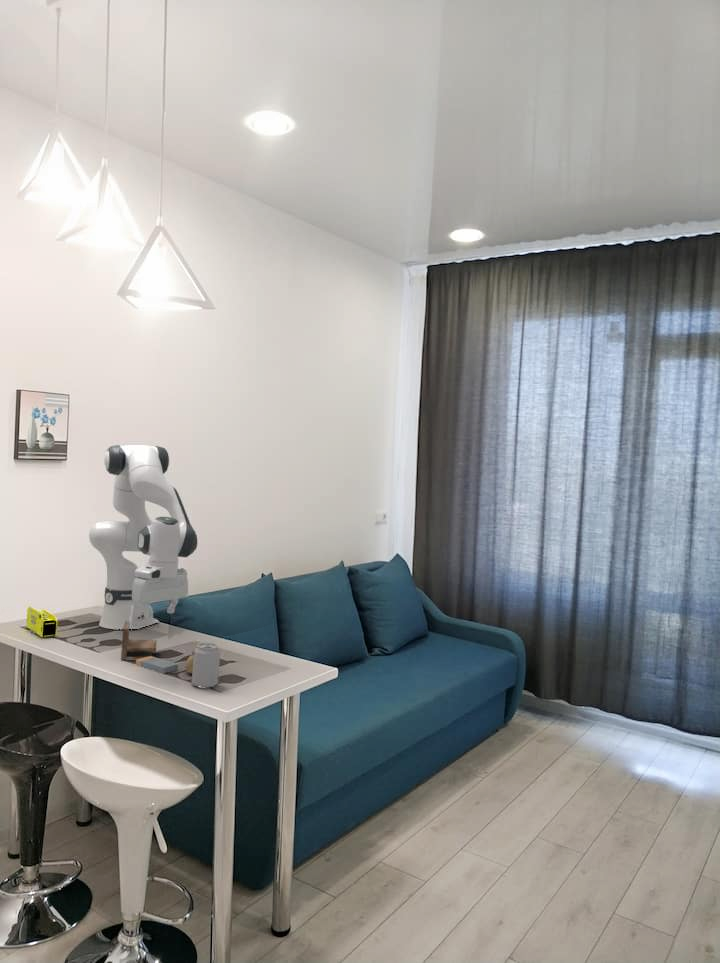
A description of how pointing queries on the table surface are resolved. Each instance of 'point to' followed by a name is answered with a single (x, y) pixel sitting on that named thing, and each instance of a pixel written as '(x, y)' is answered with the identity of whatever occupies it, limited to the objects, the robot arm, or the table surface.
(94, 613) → the table surface
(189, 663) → the onion
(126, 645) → the tan bookend
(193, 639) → the table surface
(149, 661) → the two-tone tall prism
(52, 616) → the yellow toy chassis
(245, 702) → the table surface
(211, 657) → the can
